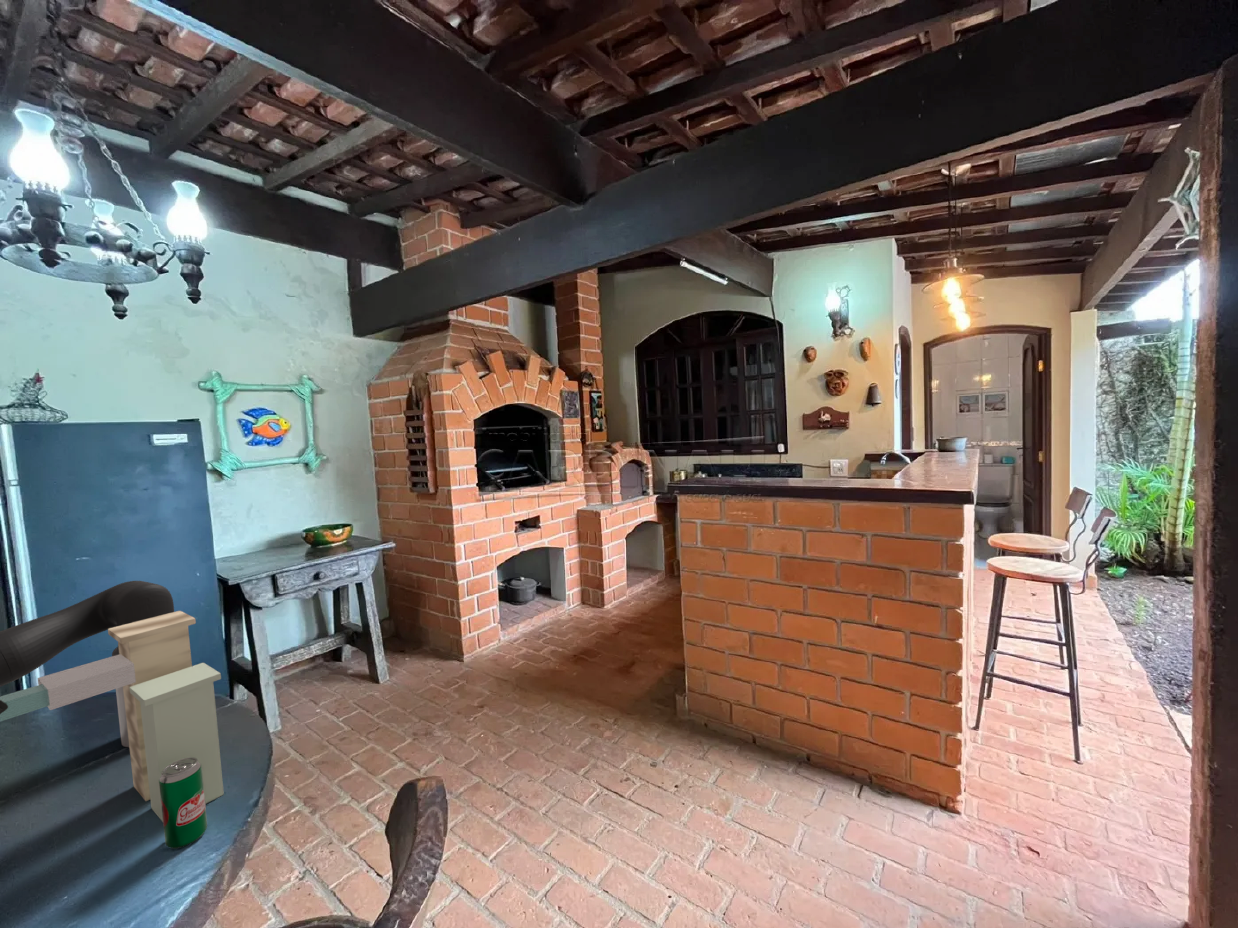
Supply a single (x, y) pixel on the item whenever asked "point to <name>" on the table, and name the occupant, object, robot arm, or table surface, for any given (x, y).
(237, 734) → the table surface
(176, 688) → the low stand
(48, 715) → the table surface
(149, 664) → the high stand
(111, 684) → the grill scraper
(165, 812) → the soda can
